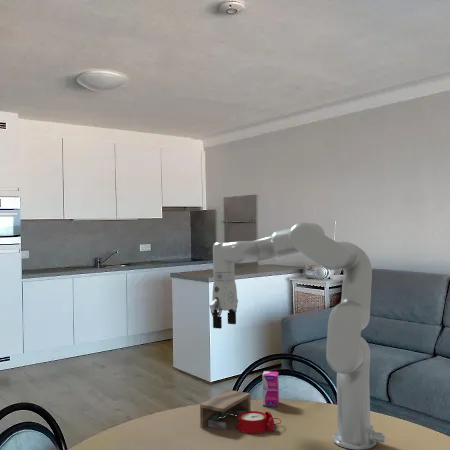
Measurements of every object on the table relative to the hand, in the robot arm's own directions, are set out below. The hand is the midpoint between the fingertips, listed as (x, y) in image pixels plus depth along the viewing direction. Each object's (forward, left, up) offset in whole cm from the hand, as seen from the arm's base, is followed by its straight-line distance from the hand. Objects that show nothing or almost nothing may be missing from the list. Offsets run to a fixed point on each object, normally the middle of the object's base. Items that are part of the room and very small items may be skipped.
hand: (224, 326), depth 169 cm
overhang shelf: (-2, +4, -31) cm, 32 cm away
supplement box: (-8, -19, -31) cm, 38 cm away
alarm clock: (-14, +4, -32) cm, 35 cm away
